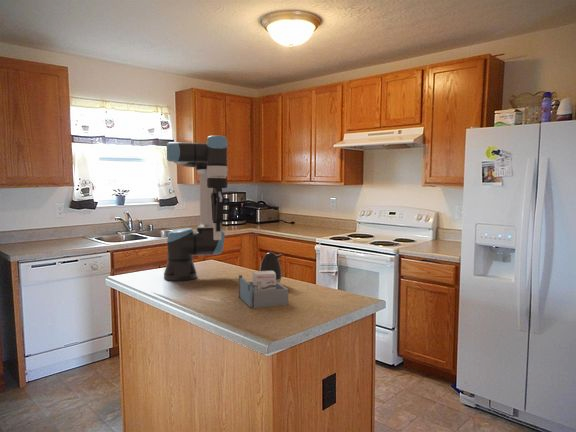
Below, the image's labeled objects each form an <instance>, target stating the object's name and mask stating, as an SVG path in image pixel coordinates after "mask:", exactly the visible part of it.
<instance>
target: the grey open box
mask: <svg viewBox="0 0 576 432" xmlns="http://www.w3.org/2000/svg"><path fill="white" fill-rule="evenodd" d="M240 278H243V274H239V275H238V299H241V298H240ZM247 282H248V283H250V284H251V285H252V298H253V280H252V281H247ZM286 305H287V306H288V305H289V288H287V287H286V286H284V285H283V284H282V283H280V282H279V283H278V282H277V281H276V290H266V291H256V292H254V301H253V300H252V308H254V309H260V308H268V307H277V306H278V307H280V306H286Z"/></svg>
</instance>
